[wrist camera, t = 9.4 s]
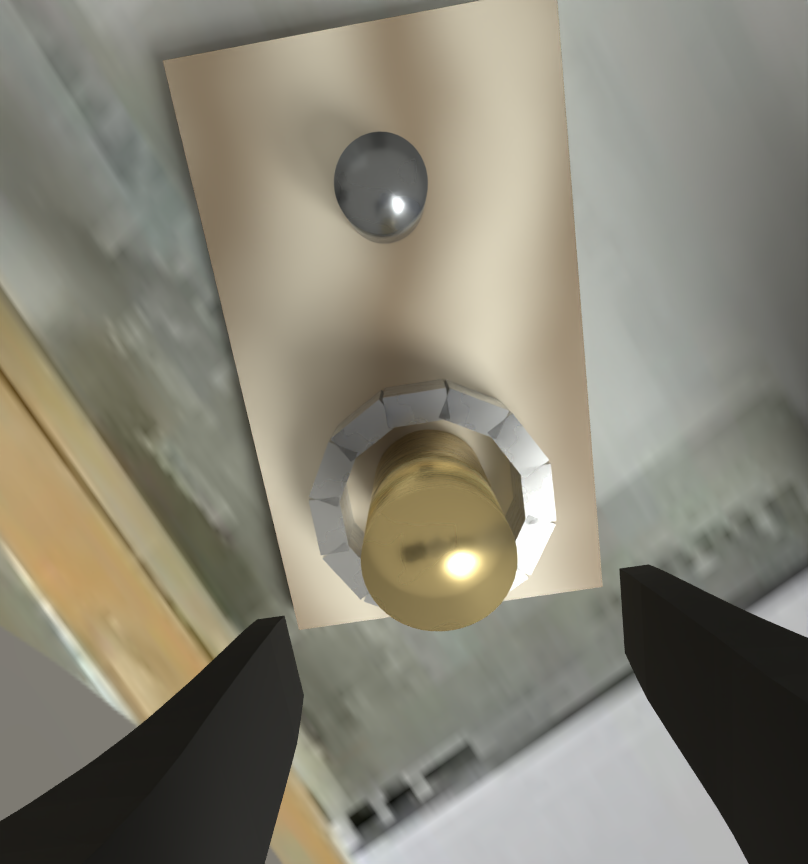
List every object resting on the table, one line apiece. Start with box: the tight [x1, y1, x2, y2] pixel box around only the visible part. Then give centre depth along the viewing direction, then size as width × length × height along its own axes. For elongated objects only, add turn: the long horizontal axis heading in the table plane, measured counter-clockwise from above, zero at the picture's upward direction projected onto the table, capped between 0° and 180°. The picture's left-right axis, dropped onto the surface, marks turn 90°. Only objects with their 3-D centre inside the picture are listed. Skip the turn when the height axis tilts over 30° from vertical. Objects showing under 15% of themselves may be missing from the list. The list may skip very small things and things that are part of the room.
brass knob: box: [361, 430, 518, 631], centre depth 16 cm, size 4×4×6 cm
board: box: [163, 0, 602, 630], centre depth 18 cm, size 12×20×1 cm, turn 9°
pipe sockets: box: [309, 131, 556, 607], centre depth 17 cm, size 8×15×2 cm, turn 9°
